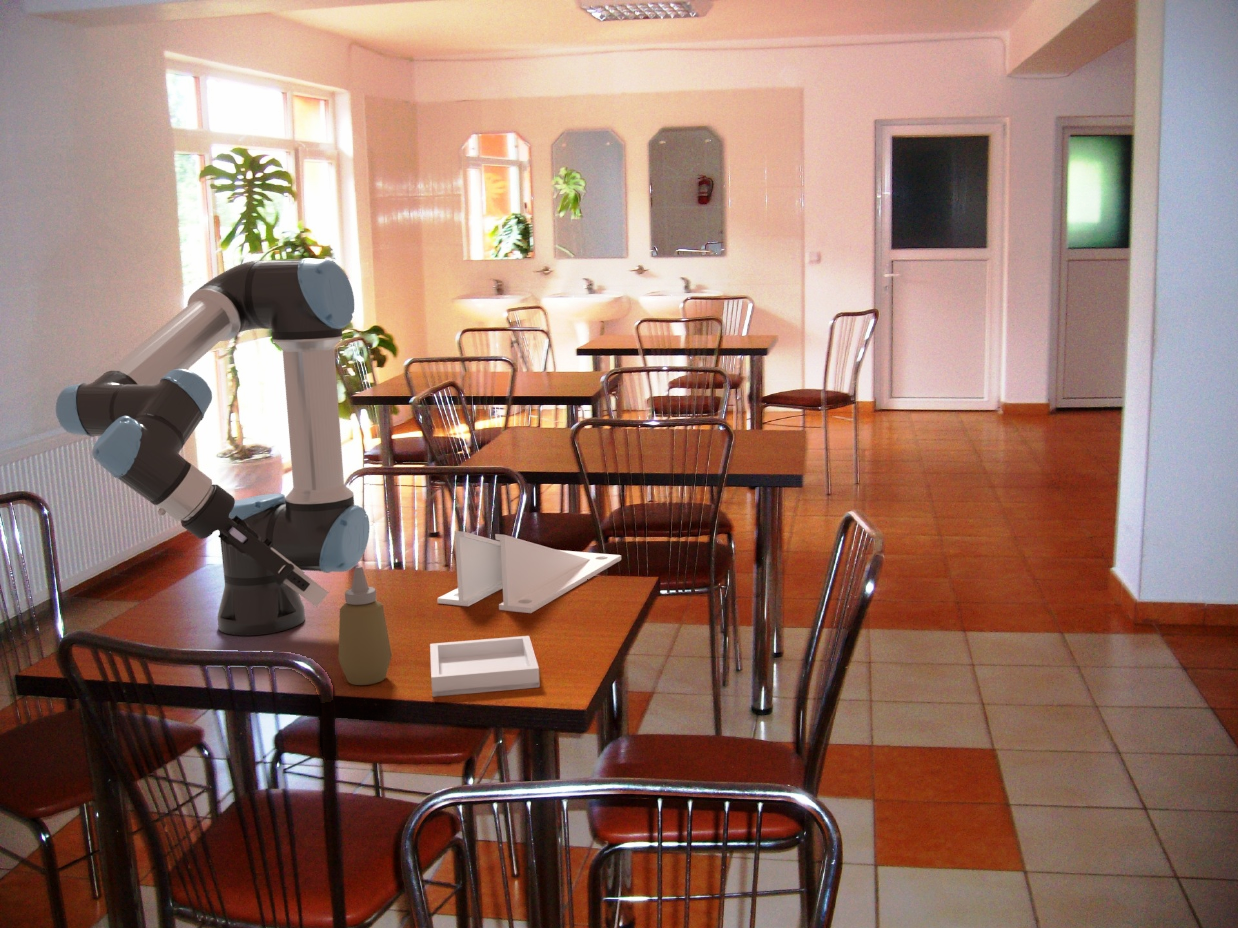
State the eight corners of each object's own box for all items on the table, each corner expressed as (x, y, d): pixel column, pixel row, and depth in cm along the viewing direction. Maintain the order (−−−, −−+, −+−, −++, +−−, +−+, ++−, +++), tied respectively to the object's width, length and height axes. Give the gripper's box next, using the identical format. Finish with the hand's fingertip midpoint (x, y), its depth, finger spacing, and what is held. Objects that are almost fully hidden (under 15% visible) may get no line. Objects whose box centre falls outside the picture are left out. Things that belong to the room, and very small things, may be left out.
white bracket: (433, 529, 224) (535, 488, 260) (437, 603, 226) (537, 552, 262) (527, 536, 216) (619, 493, 252) (530, 613, 218) (621, 559, 254)
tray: (432, 696, 178) (431, 677, 178) (431, 661, 194) (430, 643, 193) (539, 687, 181) (538, 668, 180) (529, 653, 196) (529, 635, 196)
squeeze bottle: (380, 690, 182) (372, 575, 179) (331, 687, 183) (322, 573, 180) (400, 671, 190) (393, 561, 186) (353, 669, 191) (345, 560, 188)
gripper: (164, 508, 180) (273, 589, 189) (194, 540, 158) (315, 630, 168) (198, 470, 181) (304, 552, 191) (232, 496, 160) (350, 587, 169)
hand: (310, 588), depth 179 cm, fingers open, 13 cm apart
